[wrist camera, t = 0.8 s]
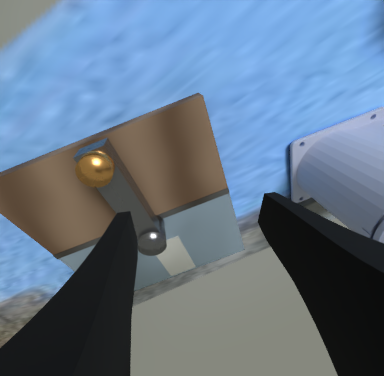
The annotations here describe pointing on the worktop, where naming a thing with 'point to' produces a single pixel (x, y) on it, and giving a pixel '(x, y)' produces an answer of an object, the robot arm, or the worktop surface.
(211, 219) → the door leaf
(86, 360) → the robot arm
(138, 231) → the lock bar
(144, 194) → the jamb board
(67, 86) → the worktop surface
